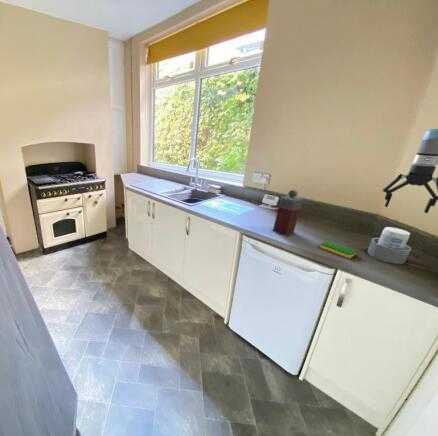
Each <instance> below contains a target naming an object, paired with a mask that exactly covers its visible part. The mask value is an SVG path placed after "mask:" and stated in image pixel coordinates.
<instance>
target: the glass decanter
mask: <svg viewBox="0 0 438 436" xmlns="http://www.w3.org/2000/svg"><path fill="white" fill-rule="evenodd" d="M303 201H304V199H303V197H299V196H298V191H297V190H296V189H290V190H289V191H288V194H287V195H284V196H280V199H279V203H278V208H277V211H276V216H275V220H274V224H273V229H272V231H273V232H275V233H278V234H281V235H284V236H286V237H287V236H289V235H292V234H294V232H295V229H296V227H297V222H298V219H299V214H300V212H301V207H302V203H303Z"/></svg>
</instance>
